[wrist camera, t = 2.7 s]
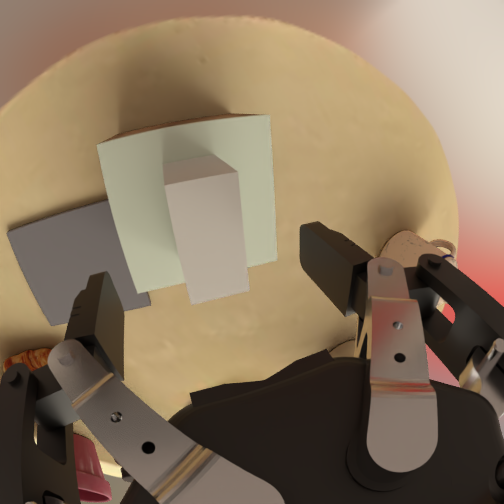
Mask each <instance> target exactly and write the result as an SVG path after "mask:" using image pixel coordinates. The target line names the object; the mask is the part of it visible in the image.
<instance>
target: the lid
mask: <svg viewBox="0 0 504 504" xmlns="http://www.w3.org/2000/svg"><path fill="white" fill-rule="evenodd" d="M97 149H98V155H99V160H100V165H101V169H102V174H103V179H104V183H105V187H106V192H107V196H108V200H109V204H110V207H111V211H112V215H113V219H114V222H115V226H116V229H117V233H118V236H119V239H120V243H121V246H122V249H123V252H124V255H125V259H126V262H127V265H128V268H129V271H130V273H131V276H132V279H133V282H134V285H135V288H136V290H137V293H143V292H147V291H152V290H156V289H160V288H165V287H169V286H173V285H178V284H182V283H186V287H187V291H188V294H189V298H190V302H191V305H194V304H198V303H203V302H207V301H211V300H215V299H219V298H223V297H227V296H231V295H235V294H239V293H243V292H246V291H250V288H249V278H248V269H247V268H249V267H253V266H257V265H261V264H265V263H269V262H273V261H277V239H276V215H275V194H274V175H273V157H272V141H271V126H270V115H251V116H240V117H231V118H222V119H214V120H207V121H200V122H193V123H187V124H181V125H176V126H170V127H165V128H160V129H155V130H150V131H146V132H141V133H137V134H132V135H128V136H124V137H120V138H116V139H113V140H109V141H105V142H102V143H99V144H97Z"/></svg>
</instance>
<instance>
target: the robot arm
mask: <svg viewBox="0 0 504 504" xmlns="http://www.w3.org/2000/svg"><path fill="white" fill-rule="evenodd" d="M300 262H301V266H302V268H303V270H304V271H305V272H306V273H307V275H308V276H309V277H310V278H311V279H312V280H313V281H314V282H315V283H316V285H317V286H318V287H319V288H320V289H321V290H322V291H323V292H324V293H325V295H326V296H327V297H328V298H329V299H330V300H331V301H332V302H333V304H334V305H335V306H336V307H337V308H338V309H339V310H340V311H341V313H342V314H343V315H344V316H345V317H347V316H349V315H351V314H354V313H357V314H358V318H357V326H356V340H351V341H347V342H345V343H343V344H341V345H339V346H338V347H336V348H335V349H333V350H332V351H331V352H330V353H329V352H328V351H327V349H325V350H323V351H320V352H318V353H315V354H313V355H310V356H307V357H305V358H302V359H299V360H297V361H295V362H293V363H292V364H290V365H289V366H287V367H285V368H284V369H282V370H281V371H279V372H277V373H276V374H274V375H273V376H271V377H269V378H268V379H266V380H262V381H254V382H243V383H230V384H223V385H219V386H215V387H212V388H208V389H204V390H200V391H196V392H192V393H190V397H191V401H192V404H190V405H188V406H186V407H184V408H183V409H181V410H180V411H178V412H177V413H176V414H175V415H173V416H172V417H171V418H170V419H169V420H168V421H166V420H165V419H164V418H162V417H161V416H160V415H159V414H157V413H156V412H155V411H154V410H152V409H151V408H150V407H149V406H148V405H147V404H145V403H144V402H143V401H142V400H141V399H140V398H138V397H137V396H136V395H135V394H134V393H133V392H132V391H131V390H130V389H128V388H127V387H126V386H125V385H124V384H123V383H122V382H121V381H124V310H123V306H122V303H121V301H120V298H119V296H118V294H117V291H116V289H115V286H114V284H113V281H112V279H111V276H110V274H109V273H108V272H107V271H104V272H100V273H97V274H93V275H90V276H89V279H88V282H87V286H86V289H84V290H81V291H80V293H79V294H78V295H77V297H76V298H75V300H74V303H73V307H72V310H71V314H70V318H69V322H68V326H67V330H66V334H65V338H64V341H62V342H60V343H59V344H57V345H56V346H55V347H54V348H53V349H52V351H51V352H50V354H49V356H48V364H46V365H44V366H42V367H40V368H38V369H36V370H34V371H31V370H30V369H29V368H28V366H27V365H26V364H24V363H15V364H13V365H12V366H10V367H9V368H8V369H7V370H6V371H5V373H4V374H3V376H2V379H1V383H0V504H81V502H80V496H79V490H78V483H77V475H76V466H75V455H74V439H73V422H75V421H77V420H79V419H81V420H82V421H83V422H84V424H85V425H86V426H87V427H88V429H89V430H90V431H91V432H92V434H93V435H94V436H95V437H96V438H97V440H98V441H99V442H100V443H101V444H102V445H103V447H104V448H105V449H106V450H107V451H108V452H109V453H110V454H111V455H112V456H113V458H114V459H115V460H116V461H117V462H118V463H119V464H120V465H121V466H122V467H123V468H124V469H125V470H126V471H127V472H128V473H129V474H130V475H131V476H132V477H133V478H134V479H133V481H132V483H131V485H130V487H129V488H128V490H127V492H126V494H125V496H124V497H123V499H122V501H121V502H120V504H504V439H503V436H502V432H501V429H500V424H499V420H498V418H500V417H501V416H502V415H503V414H504V307H503V306H502V305H501V304H499V303H498V302H497V301H496V300H495V299H494V298H493V297H491V296H490V295H489V294H488V293H487V292H486V291H484V290H483V289H482V288H481V287H480V286H478V285H477V284H476V283H475V282H474V281H472V280H471V279H470V278H469V277H467V276H466V275H465V274H464V273H462V272H461V271H460V270H459V269H457V268H456V267H455V266H453V265H452V264H451V263H449V262H448V261H447V260H445V259H444V258H442V257H441V256H438V255H435V254H428V253H427V254H422V255H421V256H420V257H419V258H418V262H417V266H415V267H405V268H403V266H402V265H401V264H400V263H399V262H397V261H395V260H393V259H390V258H386V257H378V258H373V257H372V256H371V255H369V254H368V253H367V252H366V251H364V250H363V249H362V248H360V247H359V246H358V245H355V243H354V242H352V241H351V240H349V239H348V238H347V237H346V236H344V235H343V234H341V233H339V232H336V231H333V230H330V229H328V228H327V227H326V226H324V225H323V224H322V223H320V222H318V221H317V222H312V223H308V224H303V225H301V227H300ZM440 297H441V298H442V299H443V300H445V301H446V302H447V303H448V304H449V305H450V306H451V307H452V308H453V310H454V312H455V321H454V323H453V324H452V323H451V322H450V321H449V320H448V319H447V318H446V317H445V316H444V315H443V314H442V313H441V312H440V311H439V310H438V309H437V308H436V307H437V304H438V302H439V299H440ZM425 343H426V344H427V345H428V346H429V348H430V349H431V350H432V351H433V352H434V353H435V354H436V356H437V357H438V358H439V359H440V360H441V361H442V363H443V364H444V365H445V366H446V367H447V368H448V370H449V371H450V372H451V373H452V374H453V376H454V377H455V378H456V379H457V380H458V381H459V385H460V387H456V386H452V385H448V384H444V383H441V382H438V381H434V380H430V379H429V372H428V362H427V354H426V347H425ZM34 421H35V422H36V423H37V424H38V426H37V445H36V443H35V440H34Z"/></svg>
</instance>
